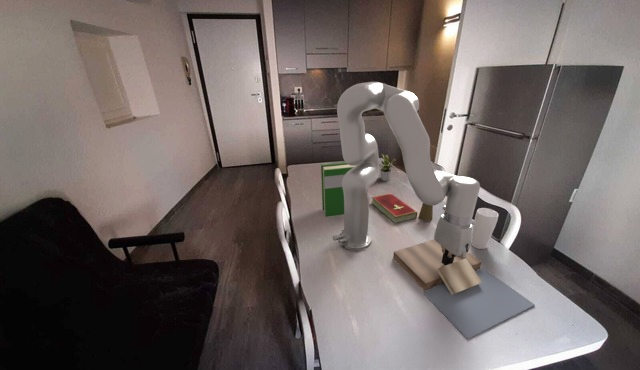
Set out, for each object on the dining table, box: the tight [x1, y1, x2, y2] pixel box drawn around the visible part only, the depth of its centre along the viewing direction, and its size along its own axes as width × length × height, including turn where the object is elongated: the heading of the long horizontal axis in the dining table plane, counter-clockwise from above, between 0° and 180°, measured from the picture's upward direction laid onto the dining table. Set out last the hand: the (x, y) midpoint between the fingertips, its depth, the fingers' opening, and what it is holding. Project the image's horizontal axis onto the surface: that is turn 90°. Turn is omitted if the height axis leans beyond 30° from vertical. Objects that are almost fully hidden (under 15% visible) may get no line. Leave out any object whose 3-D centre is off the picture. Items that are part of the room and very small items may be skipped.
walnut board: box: [392, 238, 483, 291], centre depth 88 cm, size 24×16×3 cm, turn 111°
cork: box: [418, 202, 434, 222], centre depth 113 cm, size 6×6×11 cm
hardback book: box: [320, 162, 356, 218], centre depth 119 cm, size 18×7×24 cm, turn 101°
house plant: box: [379, 153, 396, 182], centre depth 155 cm, size 14×14×16 cm
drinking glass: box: [470, 207, 499, 250], centre depth 93 cm, size 7×7×15 cm
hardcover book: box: [371, 192, 418, 224], centre depth 122 cm, size 12×21×4 cm, turn 19°
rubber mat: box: [422, 267, 535, 340], centre depth 74 cm, size 26×16×1 cm, turn 111°
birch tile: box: [437, 259, 482, 295], centre depth 78 cm, size 11×8×2 cm
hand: (446, 263), depth 83 cm, fingers closed
